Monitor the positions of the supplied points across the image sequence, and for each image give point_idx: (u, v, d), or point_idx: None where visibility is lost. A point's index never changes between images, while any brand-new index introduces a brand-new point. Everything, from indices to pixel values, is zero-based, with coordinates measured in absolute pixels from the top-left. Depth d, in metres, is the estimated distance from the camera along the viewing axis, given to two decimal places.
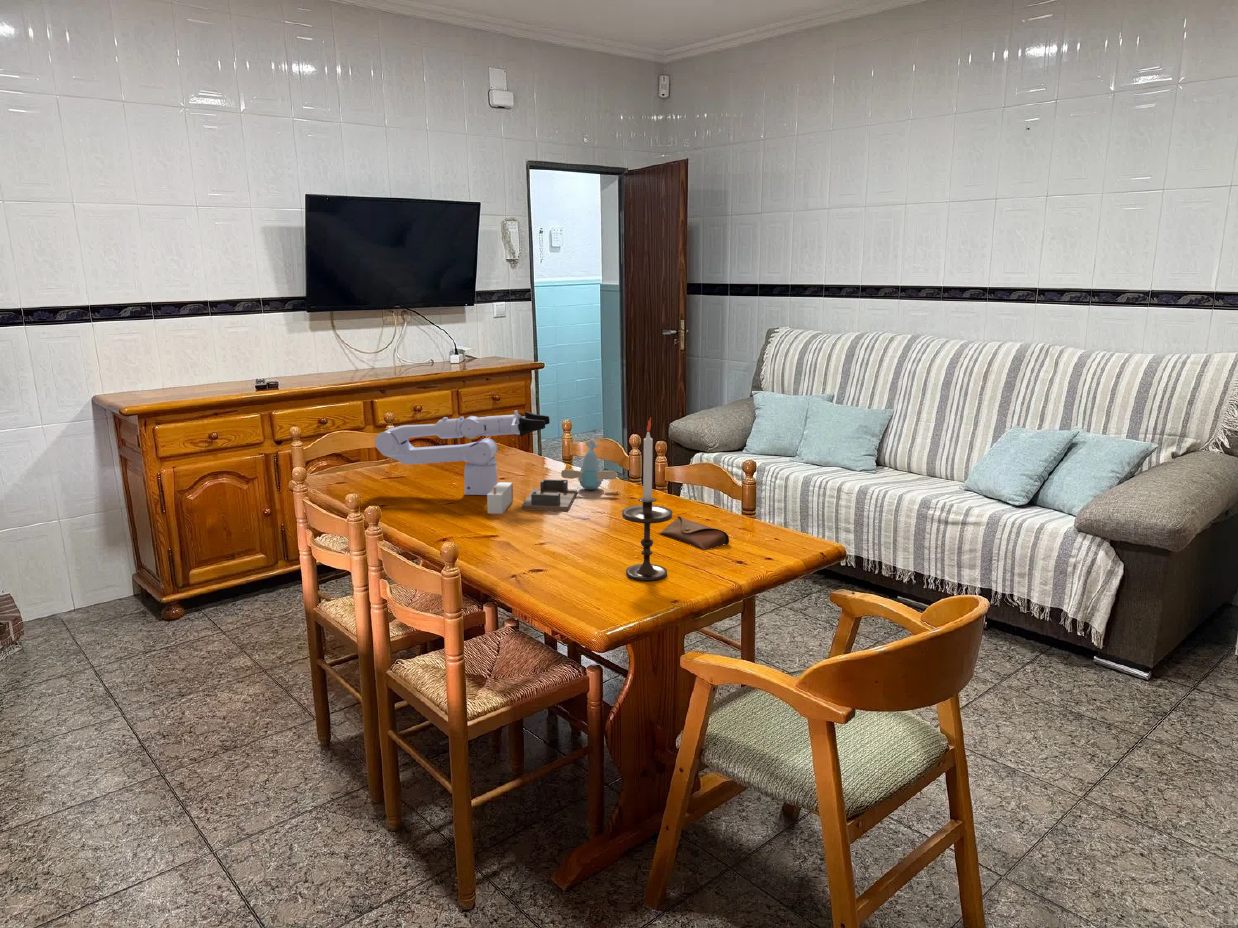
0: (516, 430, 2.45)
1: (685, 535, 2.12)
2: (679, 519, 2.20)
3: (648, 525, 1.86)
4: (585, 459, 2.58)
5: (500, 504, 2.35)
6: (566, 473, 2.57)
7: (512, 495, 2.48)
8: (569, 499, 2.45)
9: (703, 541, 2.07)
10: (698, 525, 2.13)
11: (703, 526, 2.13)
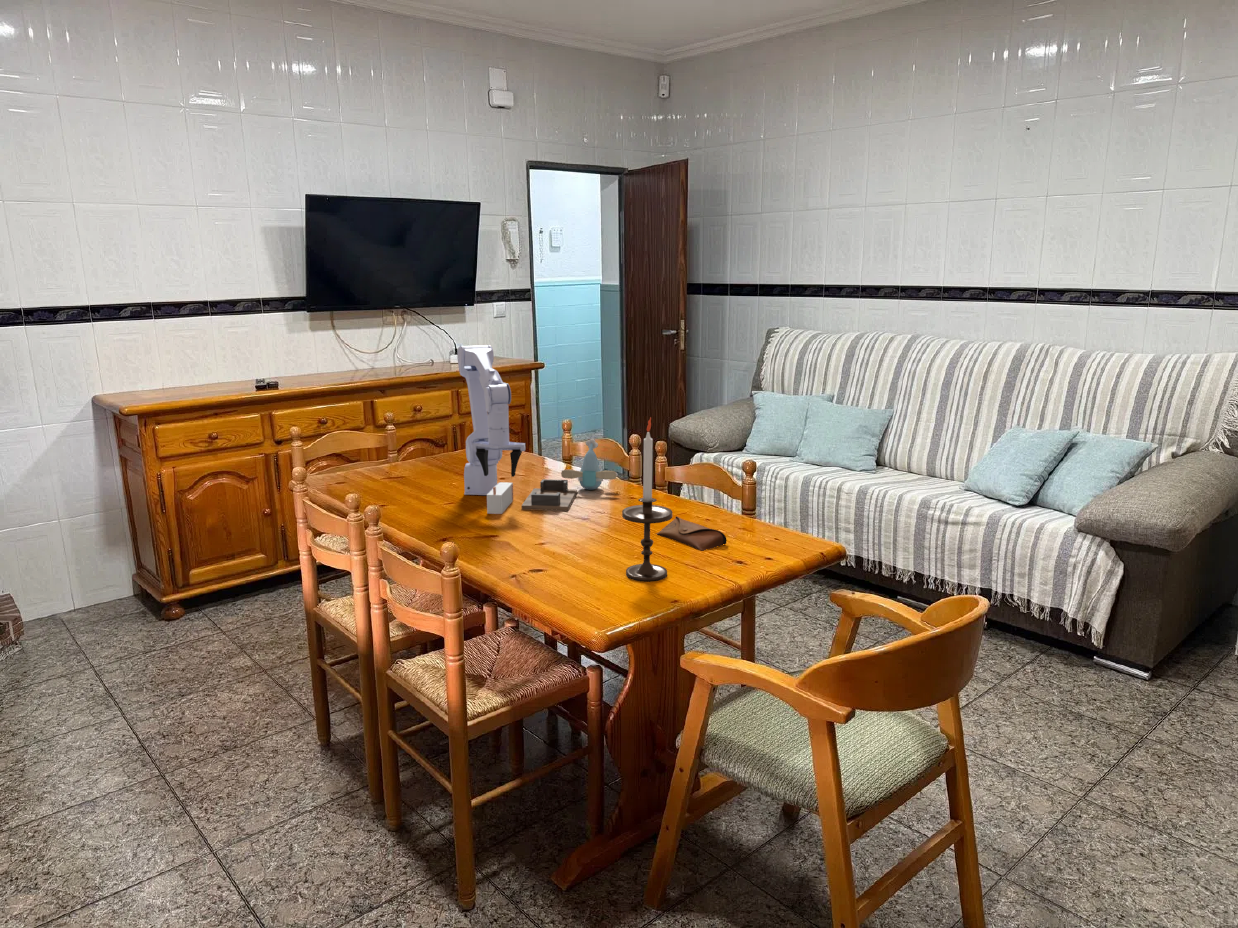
0: None
1: (682, 535, 2.11)
2: (677, 519, 2.19)
3: (648, 525, 1.86)
4: (585, 459, 2.58)
5: (500, 504, 2.35)
6: (566, 473, 2.57)
7: (512, 495, 2.48)
8: (569, 499, 2.45)
9: (700, 542, 2.07)
10: (696, 525, 2.13)
11: (700, 526, 2.12)
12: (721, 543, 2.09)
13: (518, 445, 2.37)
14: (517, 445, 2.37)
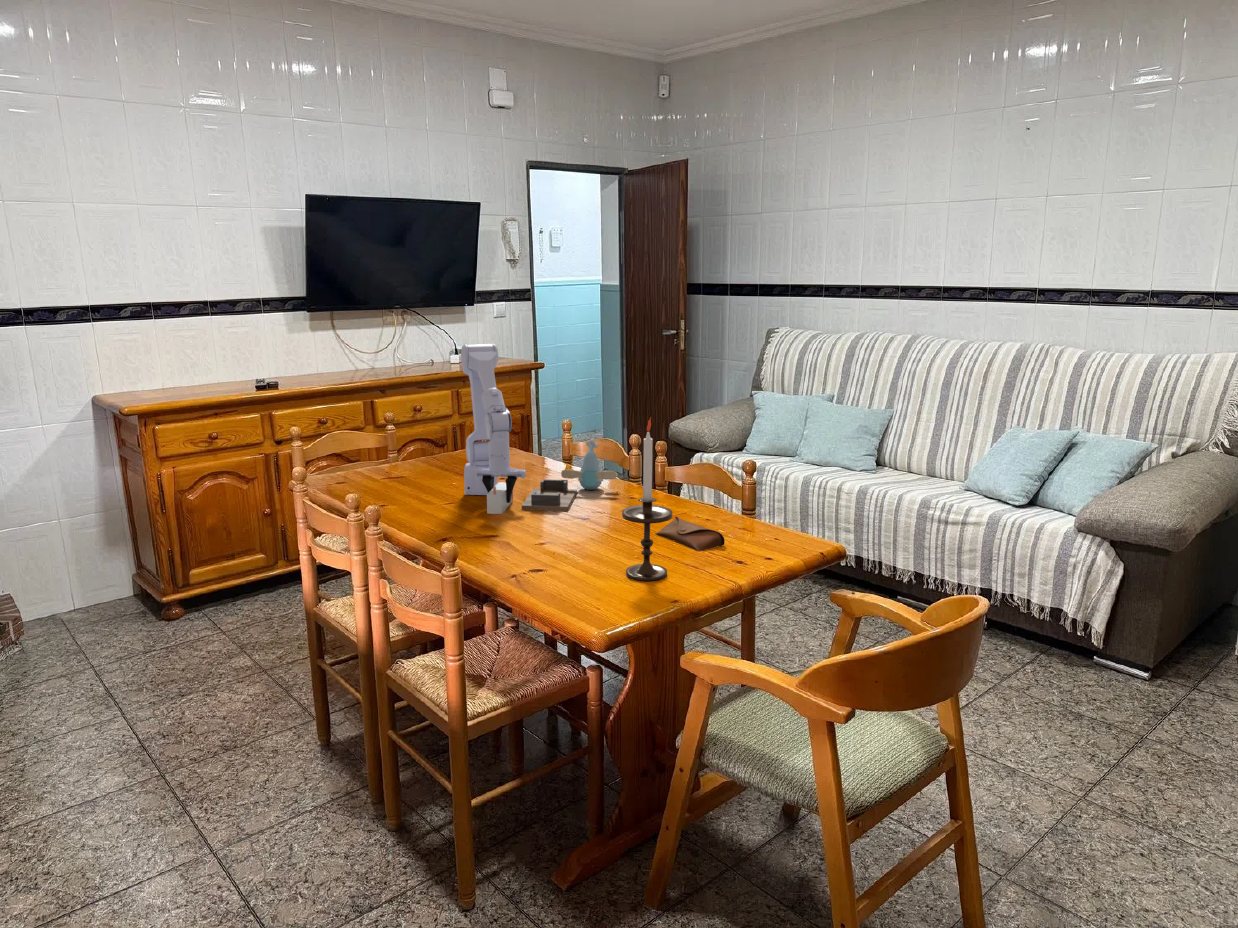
0: None
1: (681, 536, 2.11)
2: (676, 520, 2.19)
3: (648, 525, 1.86)
4: (585, 459, 2.58)
5: (500, 504, 2.34)
6: (566, 473, 2.57)
7: (512, 495, 2.48)
8: (569, 499, 2.45)
9: (698, 542, 2.07)
10: (694, 526, 2.13)
11: (699, 527, 2.12)
12: (719, 544, 2.08)
13: (519, 472, 2.38)
14: (518, 472, 2.38)
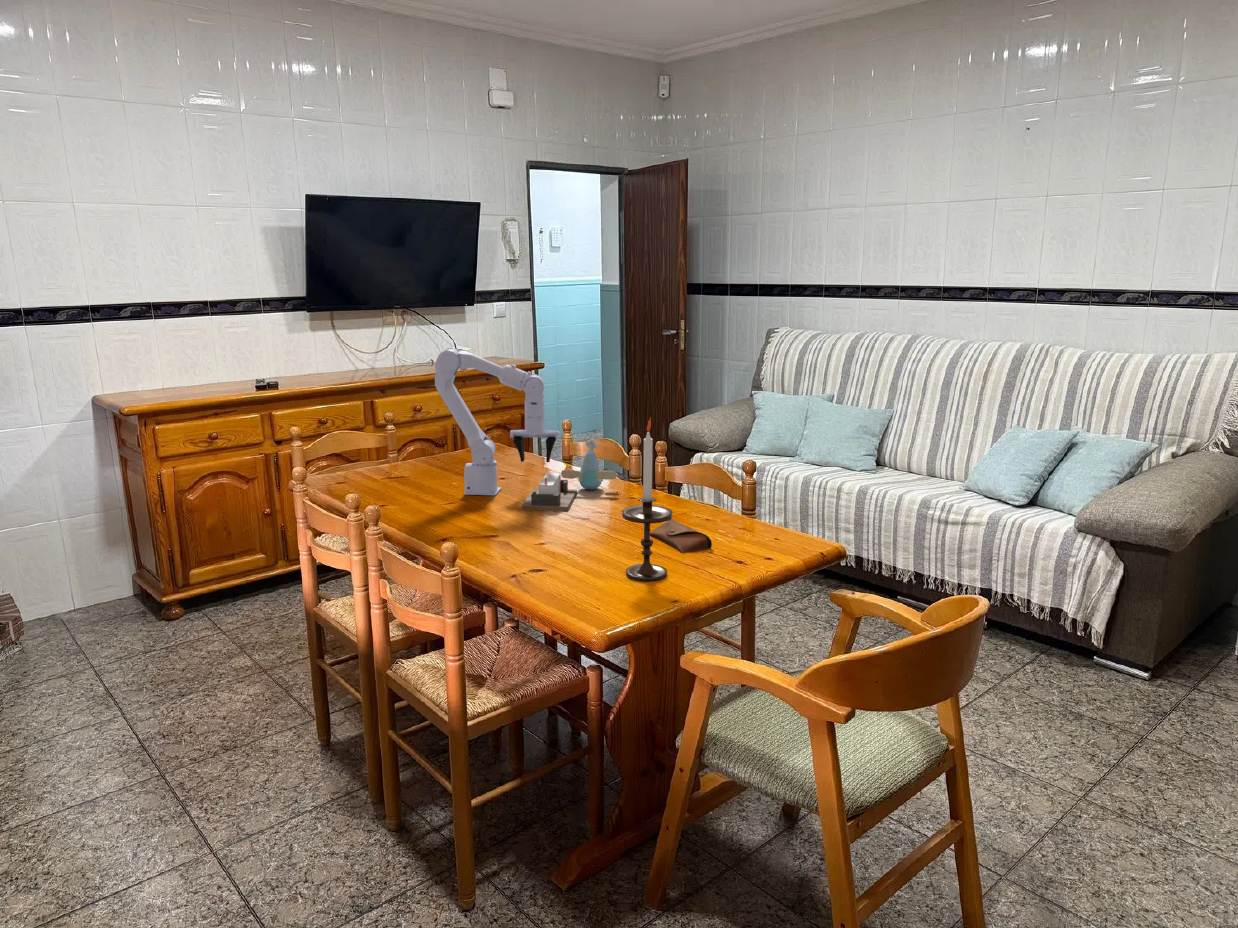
0: None
1: (669, 537, 2.10)
2: (670, 521, 2.18)
3: (648, 525, 1.86)
4: (585, 459, 2.58)
5: None
6: (566, 473, 2.57)
7: (560, 486, 2.53)
8: (569, 499, 2.45)
9: (683, 544, 2.05)
10: (684, 527, 2.11)
11: (688, 529, 2.10)
12: (706, 546, 2.06)
13: (553, 433, 2.52)
14: (552, 433, 2.52)
